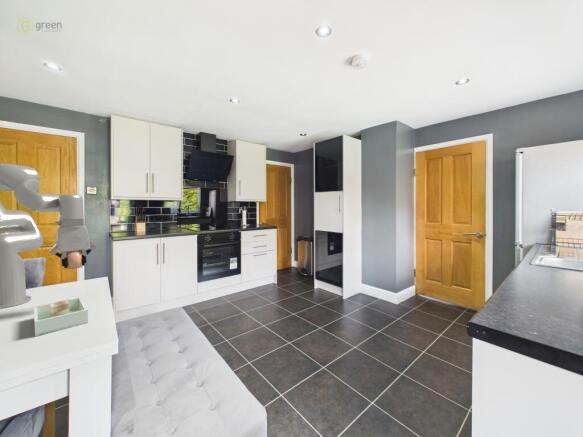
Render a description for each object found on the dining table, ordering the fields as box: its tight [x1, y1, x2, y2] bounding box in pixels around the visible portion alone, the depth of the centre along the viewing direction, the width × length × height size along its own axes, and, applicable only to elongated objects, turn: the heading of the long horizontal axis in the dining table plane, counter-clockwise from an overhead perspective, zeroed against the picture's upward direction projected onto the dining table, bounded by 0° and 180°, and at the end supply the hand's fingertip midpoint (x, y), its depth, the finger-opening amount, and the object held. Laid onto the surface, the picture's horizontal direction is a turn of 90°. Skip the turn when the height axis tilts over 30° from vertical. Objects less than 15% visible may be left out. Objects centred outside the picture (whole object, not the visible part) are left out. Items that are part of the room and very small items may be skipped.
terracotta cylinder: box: [65, 250, 83, 270], centre depth 103 cm, size 5×5×7 cm
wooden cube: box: [50, 299, 69, 317], centre depth 94 cm, size 5×5×5 cm
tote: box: [33, 297, 89, 338], centre depth 92 cm, size 18×14×5 cm
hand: (74, 266), depth 103 cm, fingers closed on terracotta cylinder, 4 cm apart
